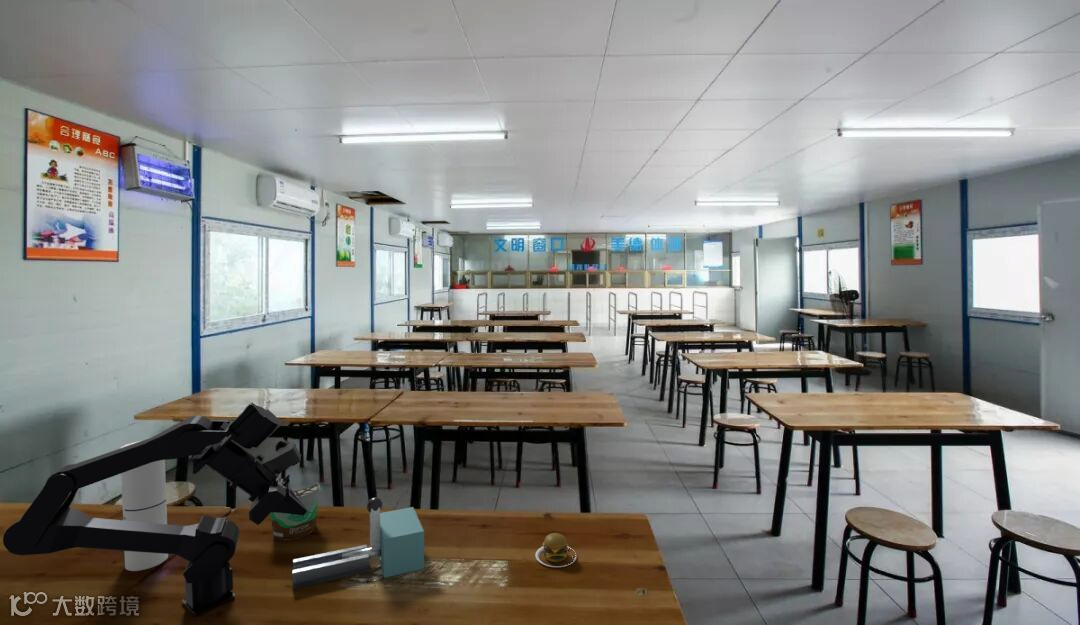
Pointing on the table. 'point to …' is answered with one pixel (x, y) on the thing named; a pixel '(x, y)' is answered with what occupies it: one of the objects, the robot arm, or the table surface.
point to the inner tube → (371, 532)
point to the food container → (298, 516)
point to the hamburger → (554, 549)
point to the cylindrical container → (144, 507)
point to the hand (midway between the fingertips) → (305, 512)
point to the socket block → (401, 542)
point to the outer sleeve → (328, 567)
